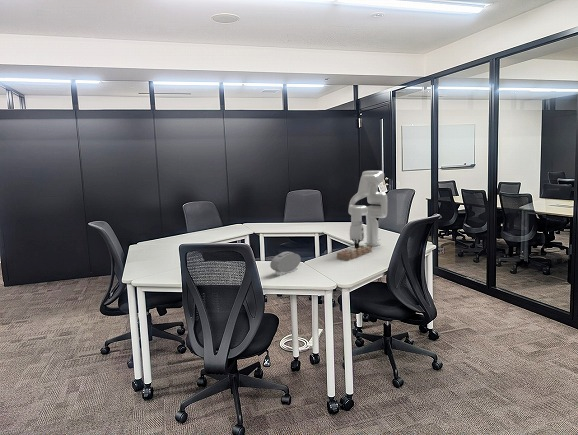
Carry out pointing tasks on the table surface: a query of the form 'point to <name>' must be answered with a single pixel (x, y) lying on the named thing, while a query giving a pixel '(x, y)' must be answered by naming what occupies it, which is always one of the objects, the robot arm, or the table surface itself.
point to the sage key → (362, 245)
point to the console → (353, 253)
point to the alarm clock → (285, 263)
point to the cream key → (351, 249)
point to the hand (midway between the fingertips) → (356, 248)
